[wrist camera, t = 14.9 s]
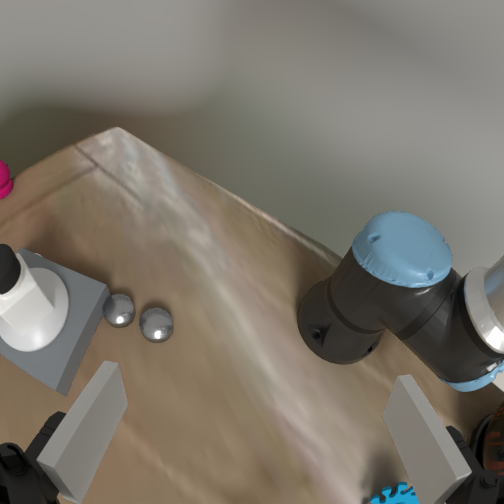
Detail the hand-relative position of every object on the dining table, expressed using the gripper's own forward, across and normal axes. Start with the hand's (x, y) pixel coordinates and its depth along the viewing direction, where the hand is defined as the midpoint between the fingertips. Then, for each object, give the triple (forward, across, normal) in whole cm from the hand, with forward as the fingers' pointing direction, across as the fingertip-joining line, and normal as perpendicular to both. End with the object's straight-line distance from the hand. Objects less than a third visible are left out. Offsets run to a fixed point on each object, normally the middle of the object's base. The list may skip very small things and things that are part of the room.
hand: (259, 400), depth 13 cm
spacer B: (+29, -21, -12) cm, 38 cm away
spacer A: (+29, -14, -13) cm, 35 cm away
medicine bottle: (+21, -33, -9) cm, 41 cm away
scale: (+24, -34, -13) cm, 44 cm away
